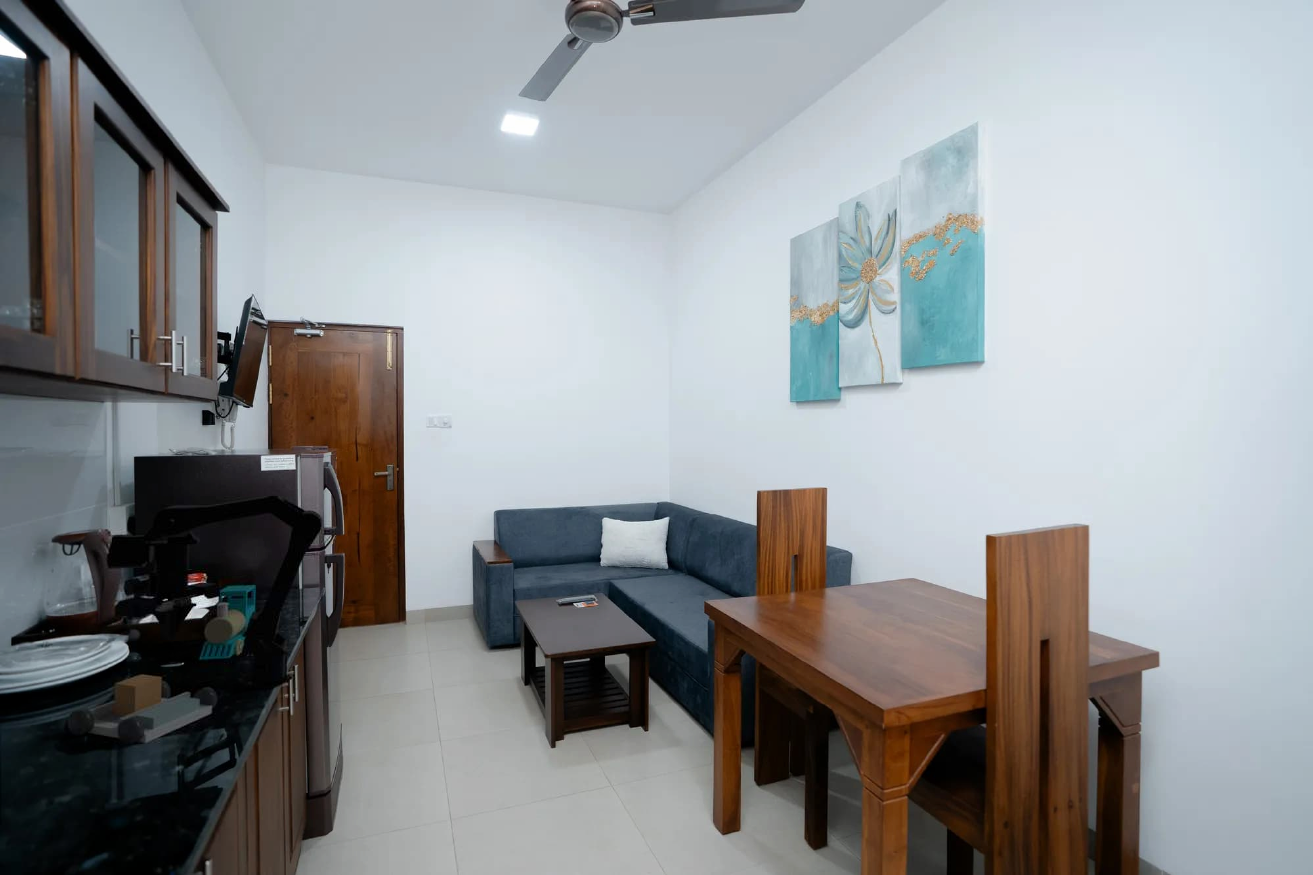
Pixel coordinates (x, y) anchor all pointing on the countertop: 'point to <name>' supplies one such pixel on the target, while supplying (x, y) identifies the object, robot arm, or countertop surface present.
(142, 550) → the robot arm
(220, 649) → the toy train
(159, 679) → the brown cardboard cube
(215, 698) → the chassis
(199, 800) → the countertop surface
